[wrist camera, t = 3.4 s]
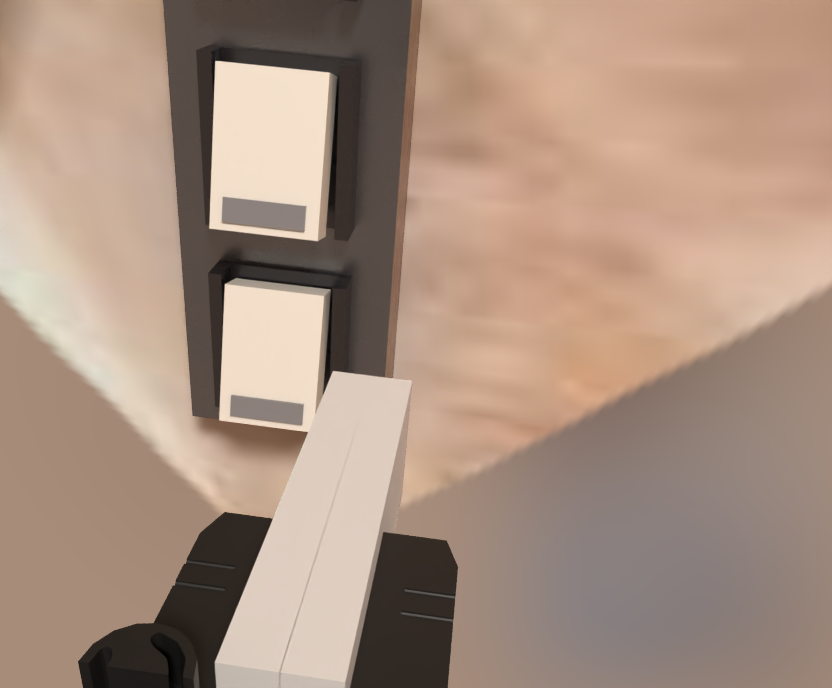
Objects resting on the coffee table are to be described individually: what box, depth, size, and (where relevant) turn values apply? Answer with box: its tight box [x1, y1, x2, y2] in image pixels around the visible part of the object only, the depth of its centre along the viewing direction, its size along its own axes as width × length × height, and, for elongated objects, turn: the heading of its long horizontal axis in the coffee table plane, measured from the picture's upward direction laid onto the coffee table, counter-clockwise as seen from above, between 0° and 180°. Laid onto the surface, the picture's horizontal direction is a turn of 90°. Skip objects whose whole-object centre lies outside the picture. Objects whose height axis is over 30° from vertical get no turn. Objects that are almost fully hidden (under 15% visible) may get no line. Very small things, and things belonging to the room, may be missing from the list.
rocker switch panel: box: [163, 0, 422, 419], centre depth 34 cm, size 30×10×6 cm, turn 175°
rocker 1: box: [209, 61, 337, 241], centre depth 31 cm, size 6×4×2 cm
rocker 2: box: [219, 278, 331, 432], centre depth 36 cm, size 6×4×2 cm
